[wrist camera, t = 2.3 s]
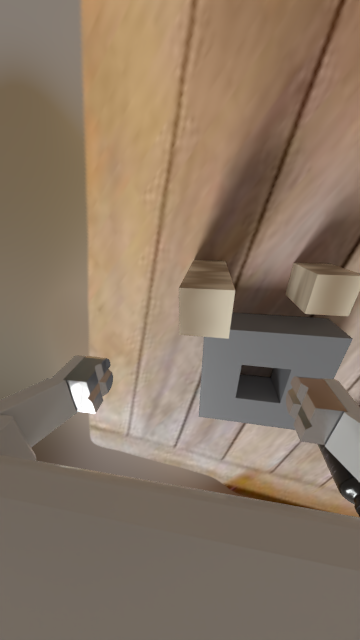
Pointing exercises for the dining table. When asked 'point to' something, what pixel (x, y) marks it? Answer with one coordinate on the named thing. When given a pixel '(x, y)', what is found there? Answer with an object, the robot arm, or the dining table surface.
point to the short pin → (323, 288)
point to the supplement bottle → (342, 478)
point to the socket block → (266, 365)
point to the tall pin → (206, 300)
